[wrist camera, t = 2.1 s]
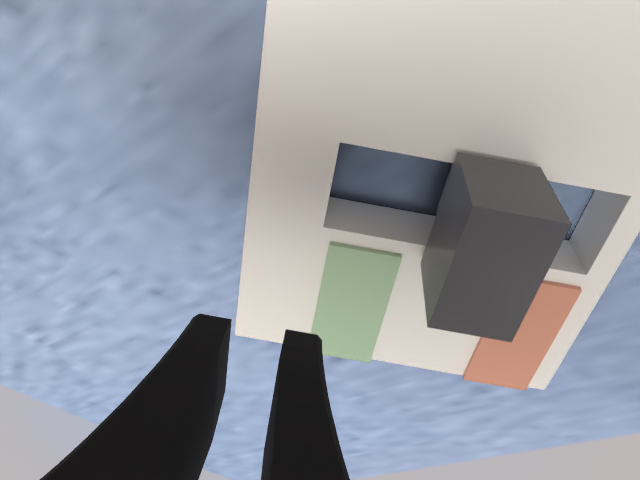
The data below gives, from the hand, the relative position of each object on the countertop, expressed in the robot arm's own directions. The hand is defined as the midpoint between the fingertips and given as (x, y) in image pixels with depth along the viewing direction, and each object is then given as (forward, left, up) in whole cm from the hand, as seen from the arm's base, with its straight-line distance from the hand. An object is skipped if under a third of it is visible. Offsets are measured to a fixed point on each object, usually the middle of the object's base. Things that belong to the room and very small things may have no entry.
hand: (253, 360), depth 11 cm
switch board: (-4, 0, -9) cm, 10 cm away
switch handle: (-6, 0, -9) cm, 11 cm away
